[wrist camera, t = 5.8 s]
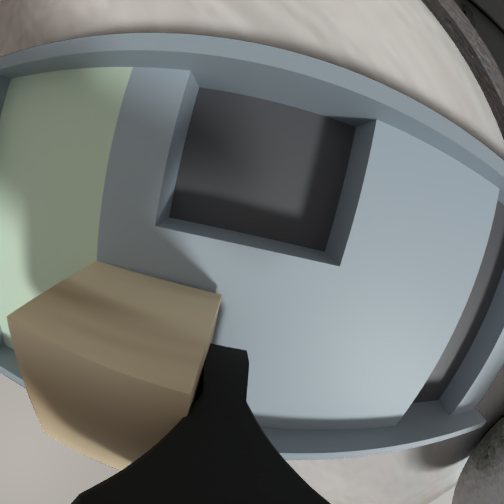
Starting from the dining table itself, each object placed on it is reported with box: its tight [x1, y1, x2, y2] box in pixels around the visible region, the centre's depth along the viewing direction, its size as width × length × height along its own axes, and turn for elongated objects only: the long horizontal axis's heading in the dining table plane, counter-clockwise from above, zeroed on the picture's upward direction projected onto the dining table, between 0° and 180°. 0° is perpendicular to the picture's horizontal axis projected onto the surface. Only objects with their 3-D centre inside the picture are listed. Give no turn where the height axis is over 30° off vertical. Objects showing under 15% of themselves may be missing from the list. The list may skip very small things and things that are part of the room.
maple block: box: [7, 261, 222, 471], centre depth 7 cm, size 4×4×4 cm
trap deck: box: [0, 33, 504, 460], centre depth 9 cm, size 14×31×4 cm, turn 77°
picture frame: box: [422, 0, 504, 139], centre depth 6 cm, size 16×2×21 cm
